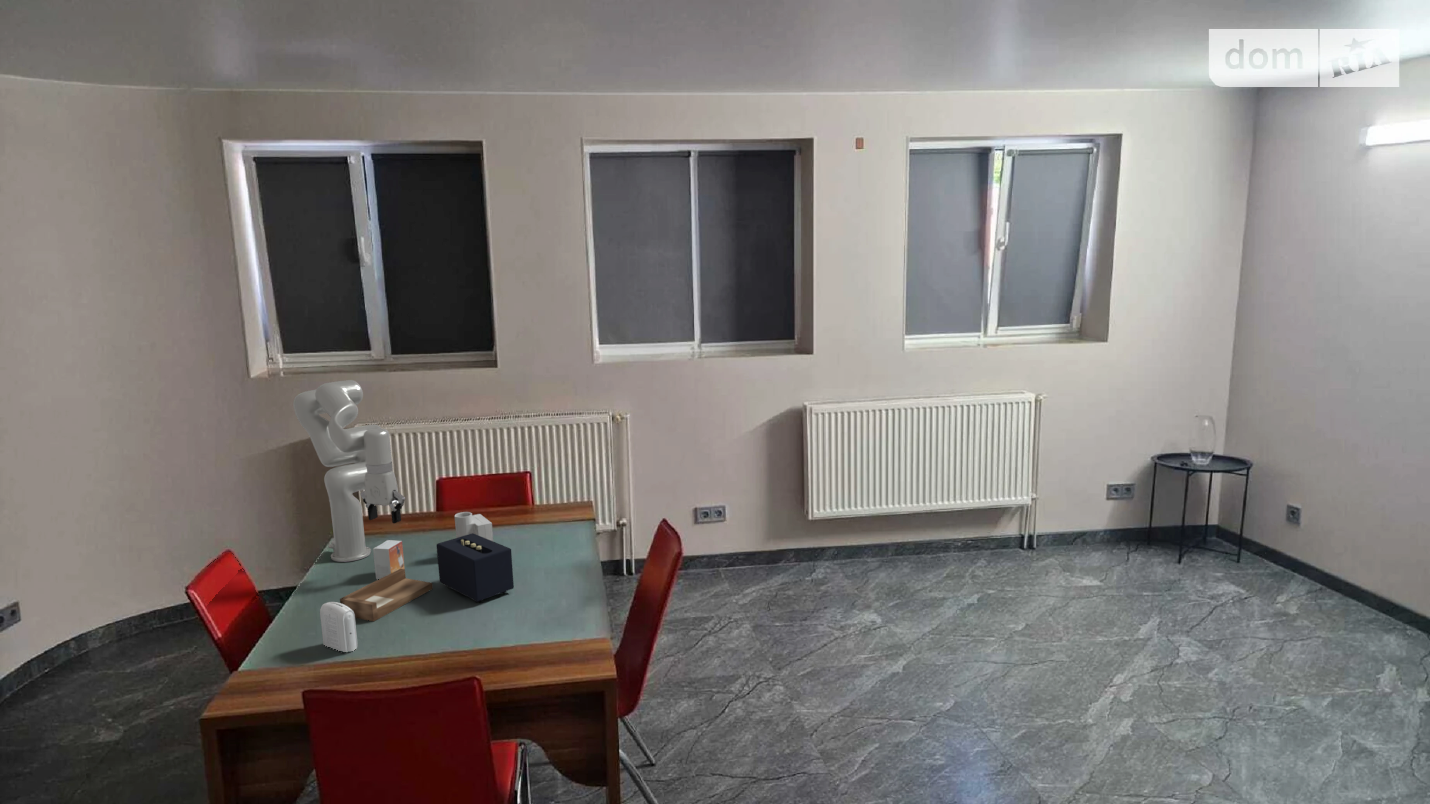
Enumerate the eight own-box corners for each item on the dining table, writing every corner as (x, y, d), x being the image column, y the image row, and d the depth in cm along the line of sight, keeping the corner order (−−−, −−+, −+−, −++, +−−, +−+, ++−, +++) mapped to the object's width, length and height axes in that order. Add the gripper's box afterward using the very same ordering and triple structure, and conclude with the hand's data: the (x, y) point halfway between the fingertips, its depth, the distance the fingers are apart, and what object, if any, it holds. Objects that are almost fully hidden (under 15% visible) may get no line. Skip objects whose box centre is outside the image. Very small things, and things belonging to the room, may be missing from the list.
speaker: (514, 593, 250) (511, 545, 248) (477, 606, 241) (473, 558, 238) (476, 575, 265) (473, 530, 262) (439, 587, 256) (435, 541, 253)
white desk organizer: (494, 557, 280) (491, 514, 277) (452, 566, 272) (449, 523, 269) (482, 547, 290) (479, 506, 287) (441, 556, 282) (438, 513, 279)
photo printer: (360, 648, 217) (356, 604, 215) (346, 655, 214) (341, 610, 211) (335, 640, 222) (330, 596, 220) (321, 646, 219) (315, 602, 216)
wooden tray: (341, 615, 237) (339, 598, 236) (402, 583, 259) (400, 568, 258) (373, 621, 233) (372, 604, 232) (432, 588, 255) (431, 573, 254)
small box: (391, 580, 262) (388, 549, 260) (375, 579, 263) (372, 548, 261) (405, 571, 269) (402, 540, 267) (390, 570, 270) (387, 539, 268)
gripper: (349, 468, 259) (355, 521, 262) (392, 473, 252) (397, 527, 256) (368, 463, 266) (373, 514, 269) (409, 467, 259) (414, 519, 262)
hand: (385, 520), depth 262 cm, fingers open, 9 cm apart
